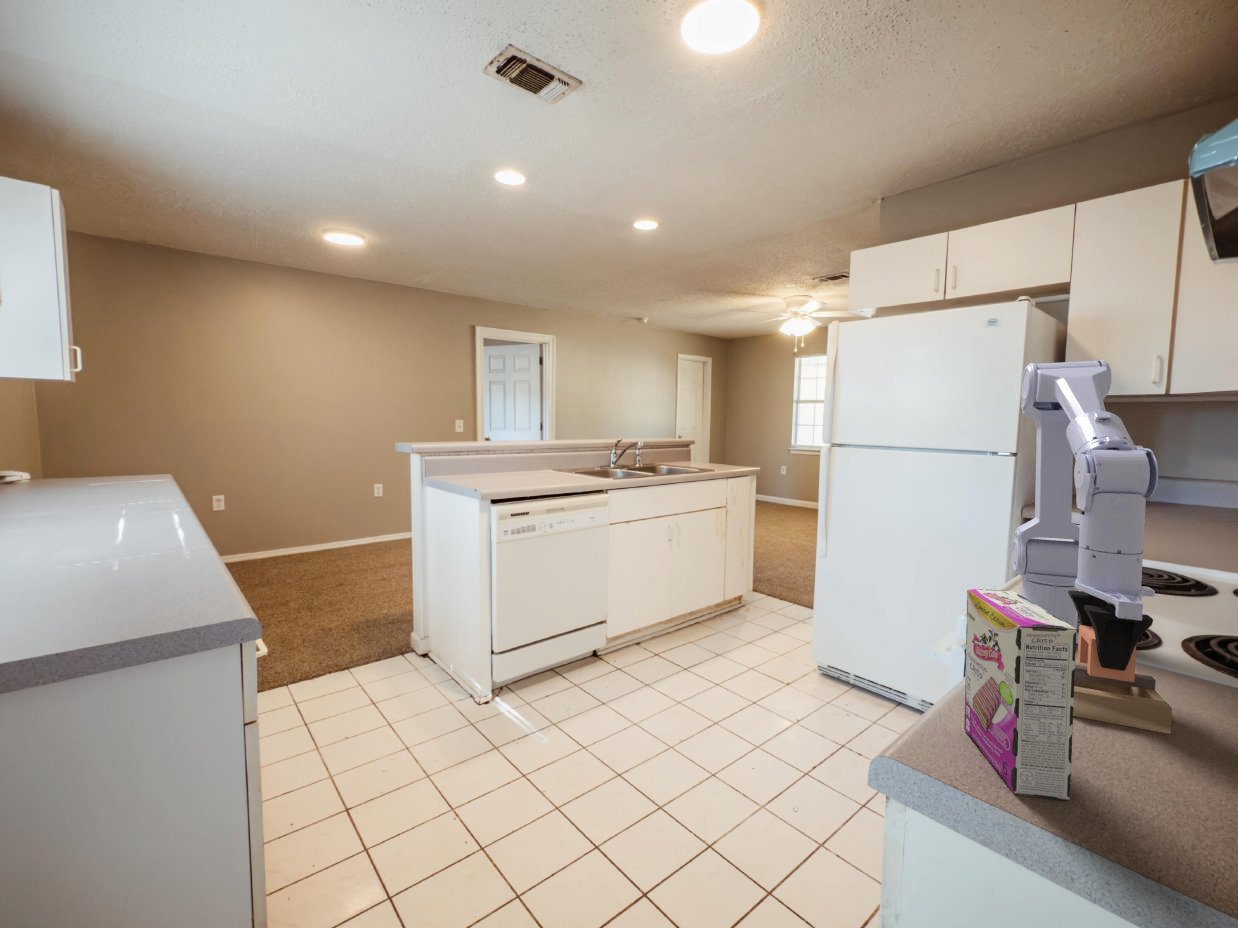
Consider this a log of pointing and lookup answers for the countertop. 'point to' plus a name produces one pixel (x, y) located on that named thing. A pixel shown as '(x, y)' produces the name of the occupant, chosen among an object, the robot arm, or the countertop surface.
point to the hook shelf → (1121, 701)
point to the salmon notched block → (1090, 656)
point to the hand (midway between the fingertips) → (1104, 658)
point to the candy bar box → (1020, 691)
